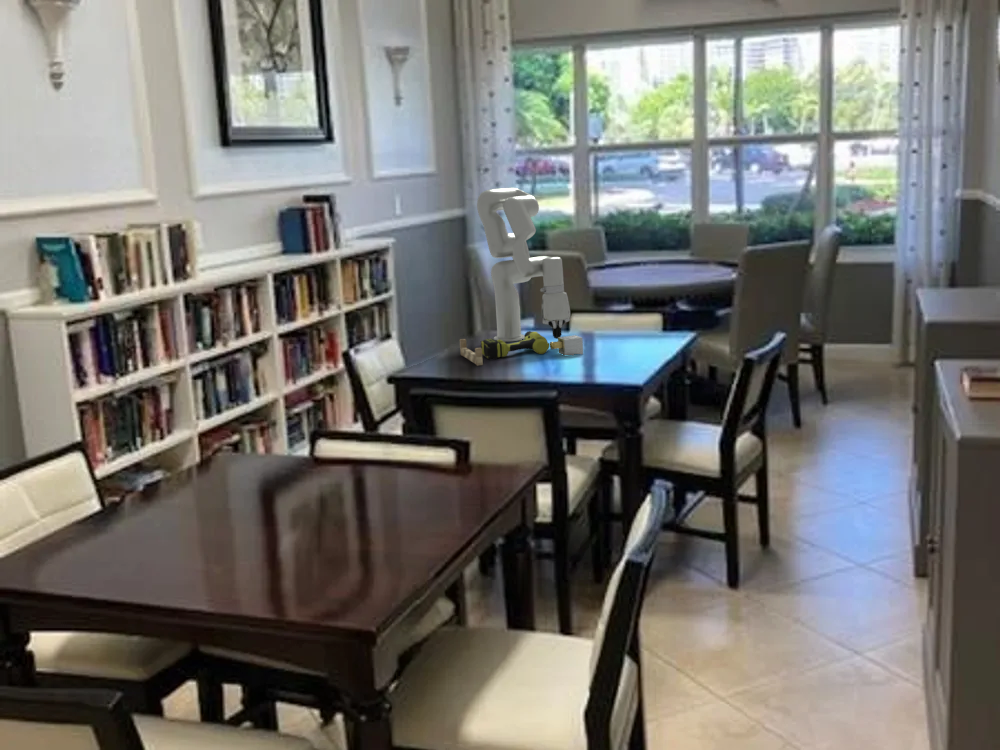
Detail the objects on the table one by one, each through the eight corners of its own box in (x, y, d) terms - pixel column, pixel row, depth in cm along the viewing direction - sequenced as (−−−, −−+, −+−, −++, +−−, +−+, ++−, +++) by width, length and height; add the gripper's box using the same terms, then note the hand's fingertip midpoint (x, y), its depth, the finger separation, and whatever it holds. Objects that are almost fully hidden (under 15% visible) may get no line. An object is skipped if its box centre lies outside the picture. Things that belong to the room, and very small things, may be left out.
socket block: (558, 353, 385) (557, 337, 384) (576, 351, 387) (575, 335, 386) (565, 356, 379) (564, 339, 378) (583, 354, 381) (582, 337, 379)
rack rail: (460, 355, 394) (459, 339, 393) (465, 354, 395) (464, 338, 393) (477, 365, 372) (476, 348, 370) (482, 364, 372) (481, 348, 371)
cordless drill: (474, 348, 404) (537, 343, 409) (486, 361, 381) (552, 355, 385) (473, 330, 403) (536, 325, 407) (485, 342, 379) (552, 337, 384)
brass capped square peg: (550, 348, 382) (549, 341, 381) (575, 346, 384) (574, 338, 384) (552, 350, 379) (552, 342, 379) (577, 347, 382) (577, 339, 381)
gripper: (538, 292, 389) (541, 341, 392) (576, 288, 393) (579, 336, 396) (532, 291, 396) (535, 339, 399) (569, 287, 400) (572, 334, 403)
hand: (557, 337), depth 398 cm, fingers closed
